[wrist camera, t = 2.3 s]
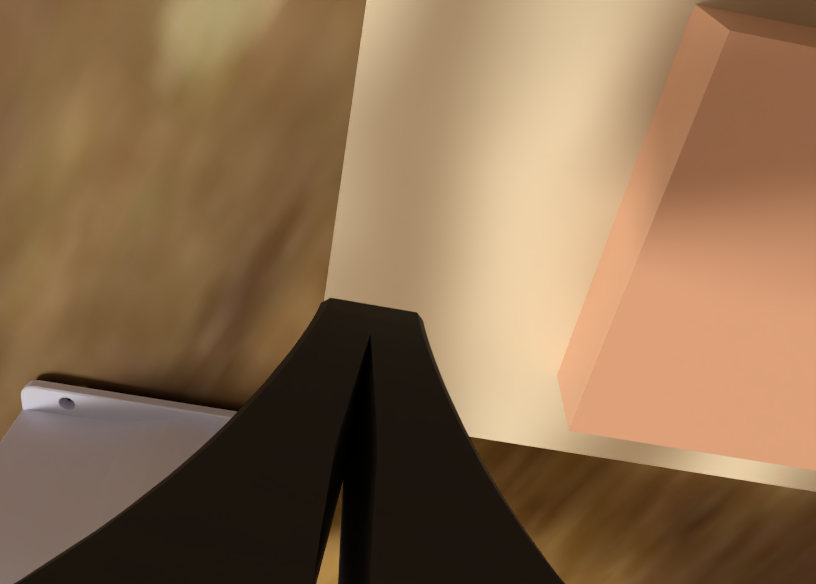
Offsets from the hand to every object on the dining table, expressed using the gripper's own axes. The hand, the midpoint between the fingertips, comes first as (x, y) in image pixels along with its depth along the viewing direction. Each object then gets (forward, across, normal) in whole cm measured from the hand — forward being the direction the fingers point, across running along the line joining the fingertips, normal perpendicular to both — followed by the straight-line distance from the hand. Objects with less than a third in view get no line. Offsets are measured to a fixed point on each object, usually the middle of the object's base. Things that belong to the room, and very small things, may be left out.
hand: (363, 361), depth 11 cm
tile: (+6, -8, 0) cm, 10 cm away
